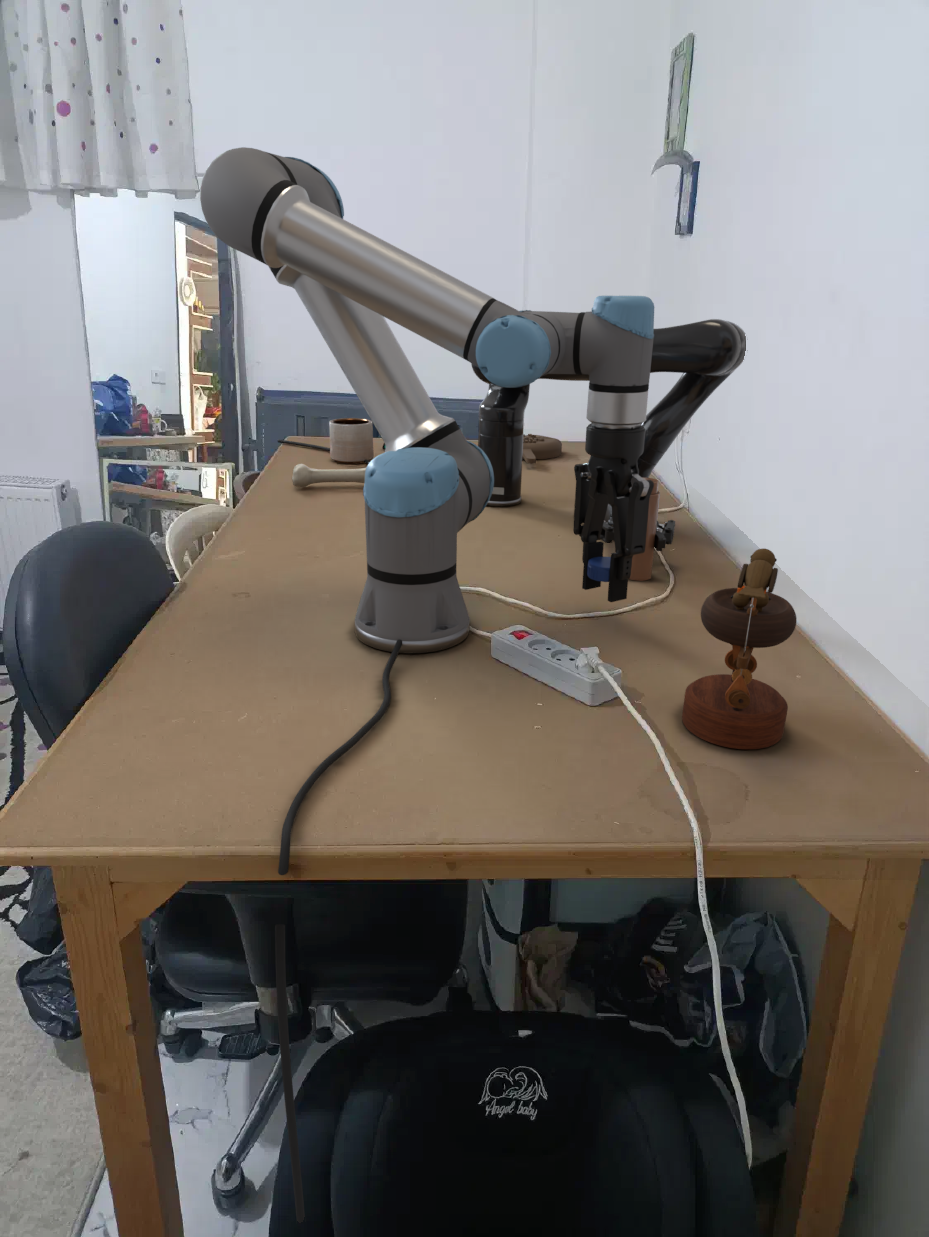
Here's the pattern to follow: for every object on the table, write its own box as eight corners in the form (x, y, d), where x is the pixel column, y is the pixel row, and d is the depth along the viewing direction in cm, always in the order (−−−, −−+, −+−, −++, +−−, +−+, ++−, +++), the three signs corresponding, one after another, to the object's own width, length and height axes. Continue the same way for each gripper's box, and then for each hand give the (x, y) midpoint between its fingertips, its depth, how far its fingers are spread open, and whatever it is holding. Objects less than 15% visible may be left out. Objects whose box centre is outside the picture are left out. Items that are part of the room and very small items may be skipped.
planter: (327, 456, 217) (325, 418, 214) (369, 454, 220) (368, 417, 217) (334, 465, 208) (332, 425, 204) (377, 463, 211) (376, 424, 207)
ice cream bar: (488, 468, 206) (489, 451, 205) (481, 446, 232) (481, 431, 231) (574, 469, 207) (575, 452, 206) (557, 447, 233) (558, 432, 232)
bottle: (620, 571, 137) (629, 476, 131) (646, 571, 137) (656, 476, 132) (627, 581, 133) (636, 483, 127) (654, 580, 133) (665, 483, 127)
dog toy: (383, 482, 192) (382, 460, 190) (385, 488, 186) (384, 465, 184) (292, 484, 189) (291, 461, 187) (292, 490, 183) (290, 467, 181)
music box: (804, 761, 84) (822, 570, 76) (690, 761, 85) (697, 574, 78) (770, 691, 98) (782, 524, 90) (673, 692, 99) (677, 527, 92)
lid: (606, 585, 113) (607, 570, 112) (579, 575, 117) (580, 561, 116) (631, 577, 116) (632, 563, 115) (604, 568, 120) (605, 554, 119)
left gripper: (687, 431, 103) (669, 609, 112) (595, 412, 118) (585, 571, 126) (640, 437, 100) (625, 619, 108) (551, 416, 114) (544, 579, 123)
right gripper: (586, 493, 145) (599, 520, 129) (670, 495, 145) (693, 522, 129) (583, 535, 148) (596, 567, 132) (665, 537, 148) (687, 568, 132)
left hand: (604, 593), depth 117 cm, fingers closed on lid, 5 cm apart
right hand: (644, 544), depth 130 cm, fingers closed on bottle, 4 cm apart
